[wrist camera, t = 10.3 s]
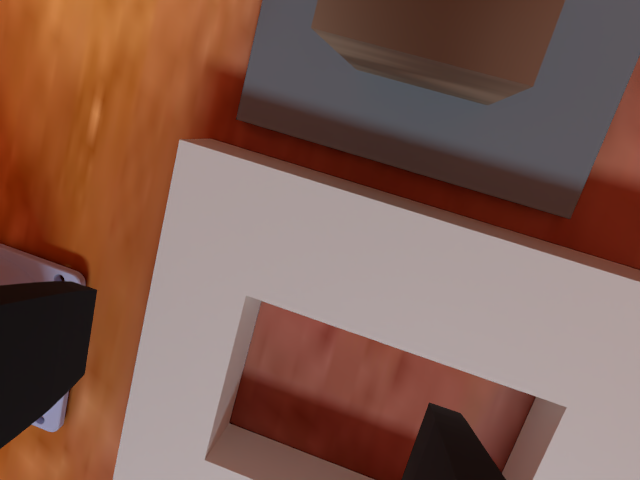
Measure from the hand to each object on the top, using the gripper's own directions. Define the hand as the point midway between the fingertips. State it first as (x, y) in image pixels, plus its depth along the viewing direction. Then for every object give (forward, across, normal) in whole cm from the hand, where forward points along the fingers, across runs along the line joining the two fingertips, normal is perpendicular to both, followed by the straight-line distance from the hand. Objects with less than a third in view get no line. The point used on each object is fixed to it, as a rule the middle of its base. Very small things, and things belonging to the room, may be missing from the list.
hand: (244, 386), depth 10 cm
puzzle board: (+9, -3, +5) cm, 11 cm away
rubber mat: (+9, -2, -9) cm, 13 cm away
